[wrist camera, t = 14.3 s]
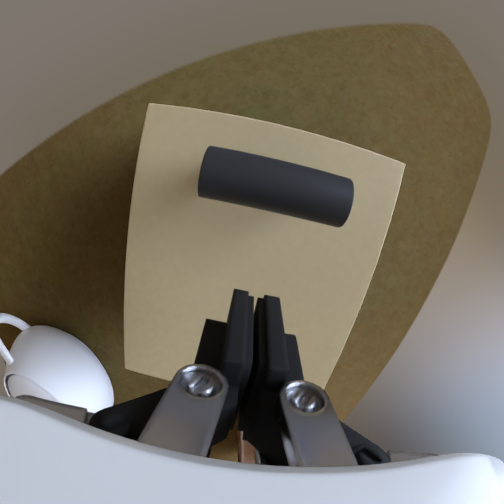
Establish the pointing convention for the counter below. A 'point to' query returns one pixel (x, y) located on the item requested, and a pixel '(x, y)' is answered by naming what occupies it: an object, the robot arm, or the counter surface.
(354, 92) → the counter surface
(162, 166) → the lid
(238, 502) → the robot arm
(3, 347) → the teapot
